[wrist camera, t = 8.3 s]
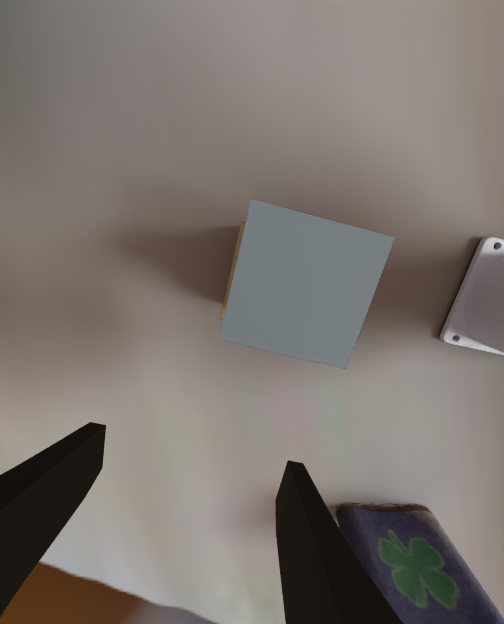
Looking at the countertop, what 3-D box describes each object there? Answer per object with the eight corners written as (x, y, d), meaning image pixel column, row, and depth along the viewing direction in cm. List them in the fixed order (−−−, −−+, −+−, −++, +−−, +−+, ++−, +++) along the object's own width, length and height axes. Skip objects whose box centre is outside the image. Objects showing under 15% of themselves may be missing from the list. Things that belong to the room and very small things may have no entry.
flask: (432, 504, 23) (582, 714, 12) (426, 527, 23) (563, 745, 13) (336, 500, 23) (403, 707, 12) (332, 523, 24) (394, 738, 13)
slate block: (342, 244, 13) (395, 237, 8) (314, 329, 14) (345, 369, 9) (252, 220, 13) (251, 199, 8) (231, 309, 14) (218, 339, 9)
